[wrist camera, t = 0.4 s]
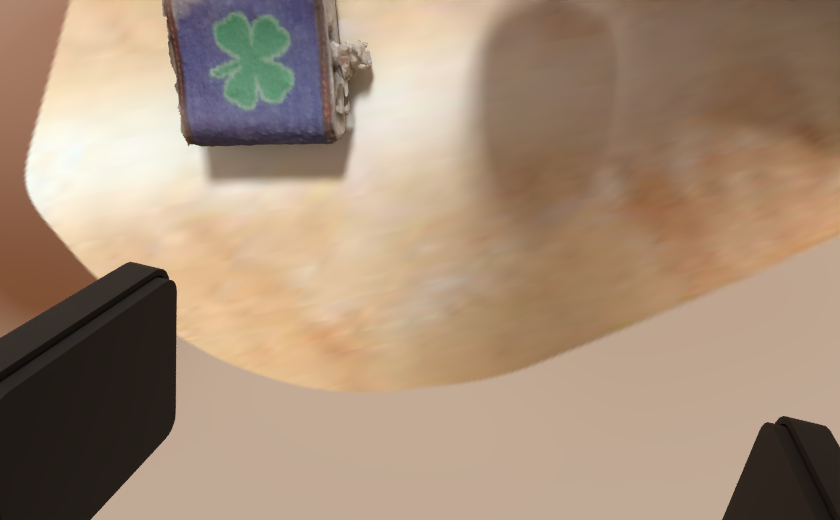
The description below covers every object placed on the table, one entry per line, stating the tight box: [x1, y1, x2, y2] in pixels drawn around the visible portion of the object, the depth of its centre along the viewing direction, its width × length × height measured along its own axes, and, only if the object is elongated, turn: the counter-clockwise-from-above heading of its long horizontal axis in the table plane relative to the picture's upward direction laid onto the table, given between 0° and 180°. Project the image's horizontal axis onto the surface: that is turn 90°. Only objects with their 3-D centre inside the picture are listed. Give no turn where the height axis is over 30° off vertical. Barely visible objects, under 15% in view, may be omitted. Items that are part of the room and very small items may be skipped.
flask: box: [162, 0, 372, 147], centre depth 37 cm, size 9×3×11 cm
